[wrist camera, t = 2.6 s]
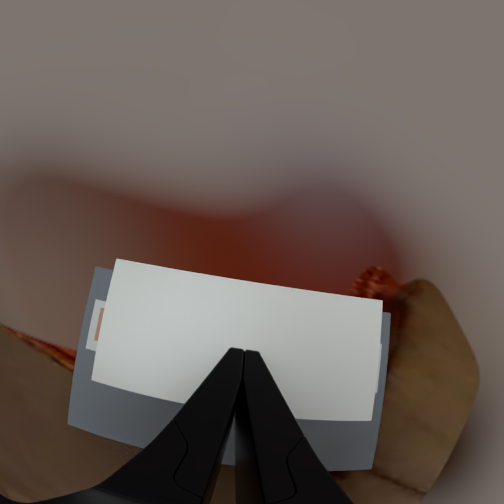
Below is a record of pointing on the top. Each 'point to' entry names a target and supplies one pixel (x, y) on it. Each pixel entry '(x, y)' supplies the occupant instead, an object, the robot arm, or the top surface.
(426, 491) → the top surface
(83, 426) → the plate
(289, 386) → the block
